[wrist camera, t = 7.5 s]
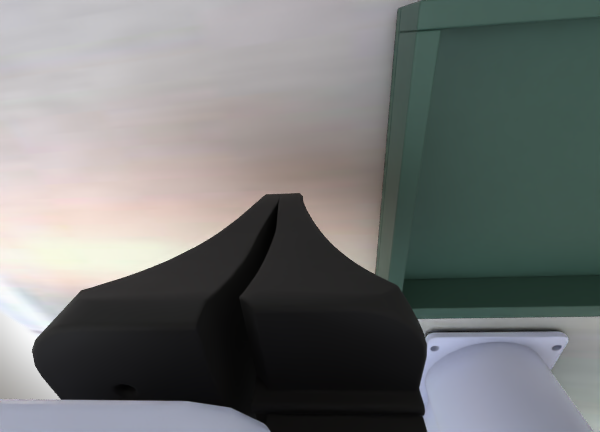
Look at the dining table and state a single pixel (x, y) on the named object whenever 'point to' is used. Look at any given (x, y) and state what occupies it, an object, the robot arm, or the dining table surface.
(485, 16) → the tray
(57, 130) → the dining table surface
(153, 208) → the dining table surface
